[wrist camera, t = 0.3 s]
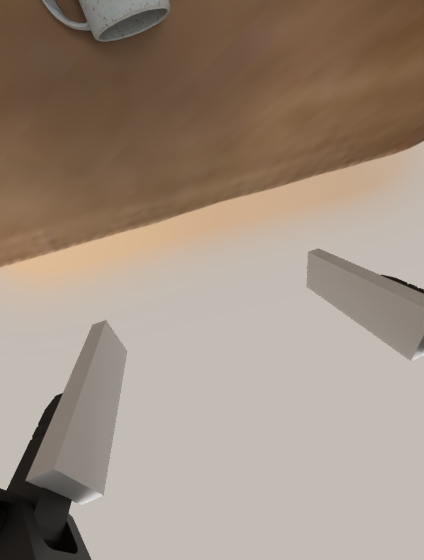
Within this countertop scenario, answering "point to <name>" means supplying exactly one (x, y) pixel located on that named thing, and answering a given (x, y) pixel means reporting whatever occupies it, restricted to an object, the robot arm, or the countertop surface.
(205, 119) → the countertop surface
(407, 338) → the robot arm
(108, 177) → the countertop surface
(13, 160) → the countertop surface
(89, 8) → the ceramic mug
